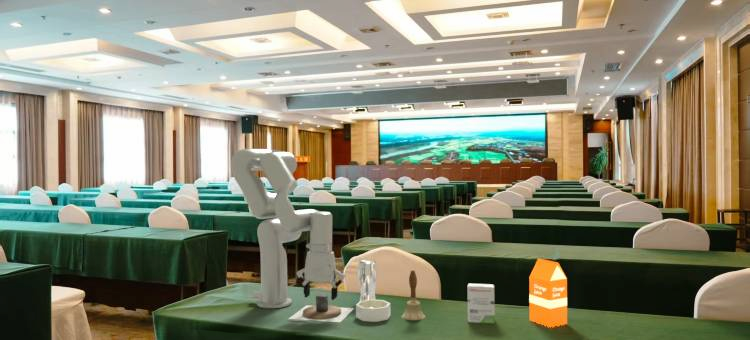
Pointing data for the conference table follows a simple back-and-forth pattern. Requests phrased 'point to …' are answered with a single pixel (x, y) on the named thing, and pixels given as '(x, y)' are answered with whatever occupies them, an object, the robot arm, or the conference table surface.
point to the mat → (300, 317)
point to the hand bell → (413, 302)
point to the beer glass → (367, 279)
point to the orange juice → (548, 294)
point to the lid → (322, 309)
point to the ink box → (481, 303)
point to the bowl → (373, 310)
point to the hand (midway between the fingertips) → (320, 297)
